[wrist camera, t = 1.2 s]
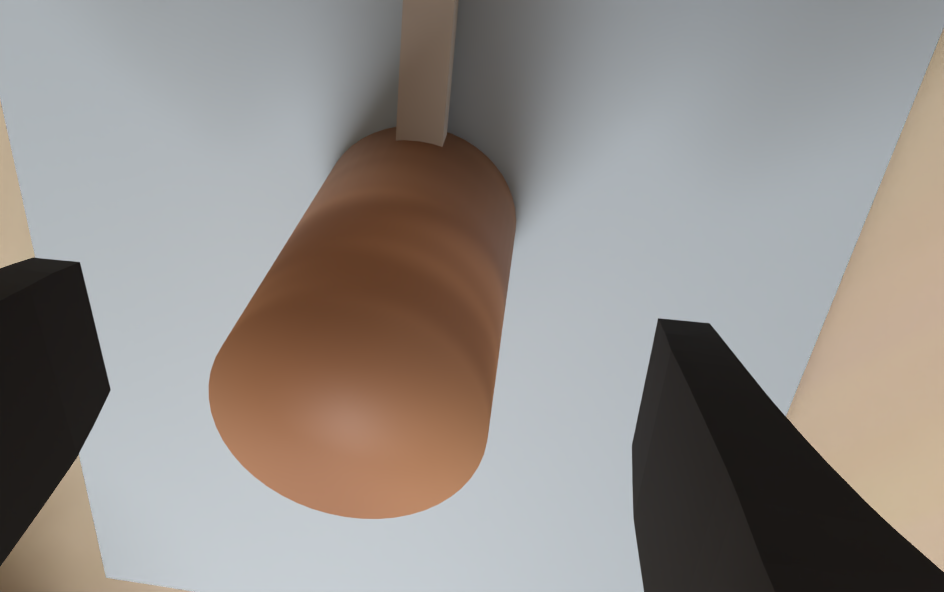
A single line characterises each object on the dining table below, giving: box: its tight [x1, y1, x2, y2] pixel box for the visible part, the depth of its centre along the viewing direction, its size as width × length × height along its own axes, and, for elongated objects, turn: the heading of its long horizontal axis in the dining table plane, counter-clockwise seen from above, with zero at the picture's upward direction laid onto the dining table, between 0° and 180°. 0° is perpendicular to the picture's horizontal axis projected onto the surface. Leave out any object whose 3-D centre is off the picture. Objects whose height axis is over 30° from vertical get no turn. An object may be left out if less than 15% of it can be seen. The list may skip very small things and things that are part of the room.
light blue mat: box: [0, 0, 944, 592], centre depth 12 cm, size 14×27×4 cm, turn 174°
